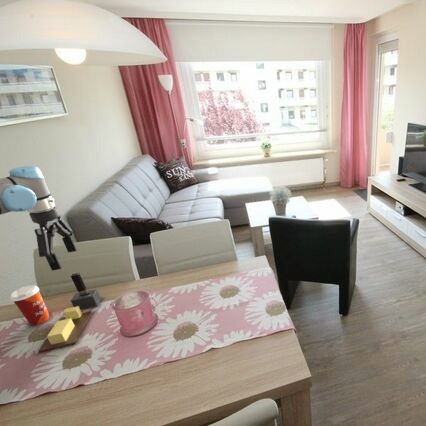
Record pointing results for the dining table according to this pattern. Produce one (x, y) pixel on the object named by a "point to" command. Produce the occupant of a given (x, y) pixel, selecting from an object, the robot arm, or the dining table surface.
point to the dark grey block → (86, 300)
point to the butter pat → (72, 313)
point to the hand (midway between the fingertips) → (65, 260)
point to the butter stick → (61, 331)
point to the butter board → (73, 336)
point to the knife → (79, 284)
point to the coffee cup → (31, 304)
